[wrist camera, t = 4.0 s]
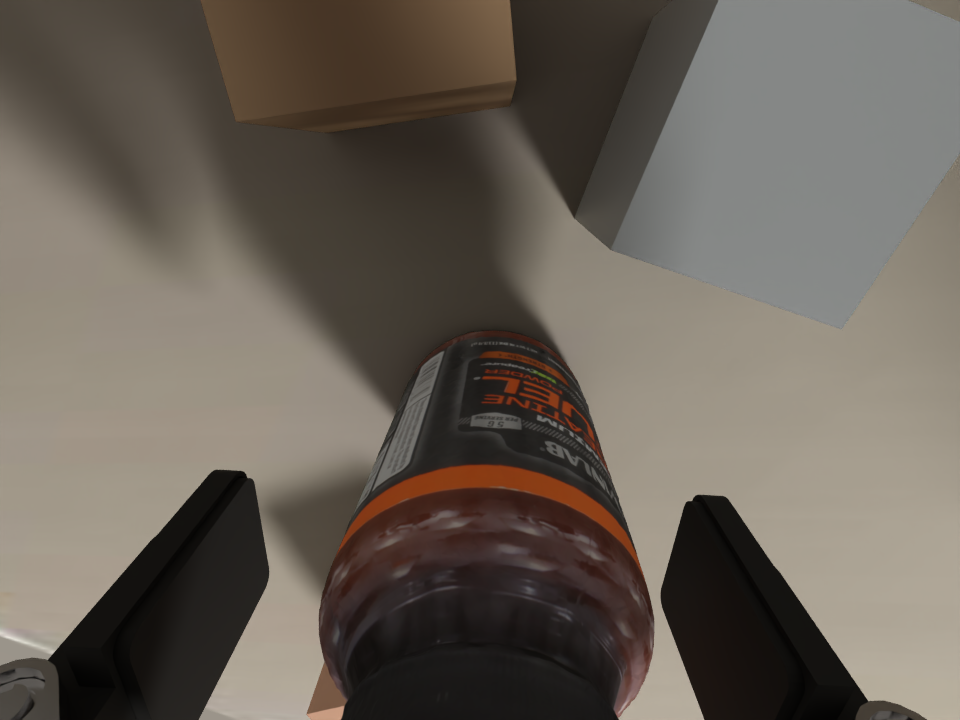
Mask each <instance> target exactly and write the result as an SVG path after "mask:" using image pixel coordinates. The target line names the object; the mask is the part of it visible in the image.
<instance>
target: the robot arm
mask: <svg viewBox="0 0 960 720" xmlns="http://www.w3.org/2000/svg"><path fill="white" fill-rule="evenodd" d="M268 578H269V566H268V560H267V554H266V548H265V543H264V537H263V531H262V525H261V519H260V513H259V507H258V501H257V495H256V490H255V484H254V481H253V479H251V478H247V476H246V474H245V472H243V471H232V470H214V471H213V472H211V473H210V474H209V475H208V477H207V478H206V479H205V480H204V481H203V482H202V484H201V485H200V486H199V487H198V488H197V489H196V491H195V492H194V493H193V494H192V495H191V496H190V498H189V499H188V500H187V501H186V502H185V503H184V505H183V506H182V507H181V508H180V509H179V510H178V511H177V513H176V514H175V515H174V516H173V517H172V518H171V520H170V521H169V522H168V523H167V524H166V525H165V527H164V528H163V529H162V530H161V531H160V532H159V534H158V535H157V536H155V537H154V538H153V539H152V540H151V541H150V542H149V543H148V545H147V546H146V547H145V548H144V549H143V550H142V552H141V553H140V554H139V555H138V556H137V557H136V558H135V560H134V561H133V562H132V563H131V564H130V565H129V567H128V568H127V569H126V570H125V571H124V572H123V574H122V575H121V576H120V577H119V578H118V579H117V580H116V582H115V583H114V584H113V585H112V586H111V587H110V589H109V590H108V591H107V592H106V593H105V594H104V596H103V597H102V598H101V599H100V600H99V601H98V602H97V604H96V605H95V606H94V607H93V608H92V609H91V611H90V612H89V613H88V614H87V615H86V616H85V618H84V619H83V620H82V621H81V622H80V623H79V624H78V626H77V627H76V628H75V629H74V630H73V631H72V633H71V634H70V635H69V636H68V637H67V638H66V640H65V641H64V642H63V643H62V644H61V645H60V646H59V648H58V649H57V650H56V651H55V652H54V653H53V655H52V656H51V657H50V658H49V659H48V660H45V659H39V658H28V659H21V660H15V661H12V662H9V663H7V664H4V665H1V666H0V720H199V718H200V716H201V714H202V712H203V710H204V708H205V706H206V704H207V702H208V700H209V698H210V696H211V694H212V692H213V690H214V688H215V686H216V684H217V682H218V680H219V679H220V677H221V675H222V673H223V671H224V669H225V667H226V665H227V663H228V661H229V659H230V657H231V655H232V653H233V651H234V649H235V647H236V645H237V643H238V641H239V639H240V637H241V635H242V633H243V631H244V629H245V627H246V626H247V624H248V622H249V620H250V618H251V616H252V614H253V612H254V610H255V608H256V606H257V604H258V602H259V600H260V598H261V596H262V594H263V592H264V590H265V588H266V586H267V582H268ZM661 604H662V608H663V611H664V613H665V616H666V619H667V621H668V624H669V627H670V629H671V632H672V635H673V637H674V640H675V643H676V645H677V648H678V651H679V653H680V656H681V658H682V661H683V664H684V666H685V669H686V672H687V674H688V677H689V680H690V682H691V685H692V688H693V690H694V693H695V696H696V698H697V701H698V704H699V706H700V709H701V711H702V714H703V717H704V719H705V720H927V719H925V718H924V717H922V716H921V715H919V714H918V713H916V712H914V711H911V710H909V709H907V708H905V707H903V706H901V705H898V704H894V703H891V702H887V701H869V702H868V700H867V699H866V697H865V696H864V694H863V693H862V691H861V690H860V688H859V687H858V686H857V684H856V683H855V681H854V680H853V678H852V677H851V675H850V674H849V672H848V671H847V670H846V668H845V667H844V665H843V664H842V662H841V661H840V659H839V658H838V656H837V655H836V654H835V652H834V651H833V649H832V648H831V646H830V645H829V643H828V642H827V640H826V639H825V637H824V636H823V635H822V633H821V632H820V630H819V629H818V627H817V626H816V624H815V623H814V621H813V620H812V619H811V617H810V616H809V614H808V613H807V611H806V610H805V608H804V607H803V605H802V604H801V603H800V601H799V600H798V598H797V597H796V595H795V594H794V592H793V591H792V589H791V588H790V587H789V585H788V584H787V582H786V581H785V579H784V578H783V576H782V575H781V573H780V572H779V571H778V570H777V569H776V568H775V566H773V564H772V563H771V561H770V560H769V558H768V557H767V555H766V554H765V552H764V551H763V549H762V548H761V547H760V545H759V544H758V542H757V541H756V539H755V538H754V536H753V535H752V533H751V532H750V530H749V529H748V527H747V526H746V525H745V523H744V522H743V520H742V519H741V517H740V516H739V514H738V513H737V511H736V510H735V508H734V507H733V506H732V504H731V503H730V501H729V500H728V499H727V498H726V497H724V496H711V495H696V496H695V497H694V498H693V500H692V501H688V502H686V504H685V506H684V509H683V513H682V517H681V520H680V524H679V527H678V531H677V534H676V538H675V542H674V545H673V549H672V552H671V556H670V560H669V563H668V567H667V570H666V574H665V577H664V581H663V585H662V588H661Z"/></svg>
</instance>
